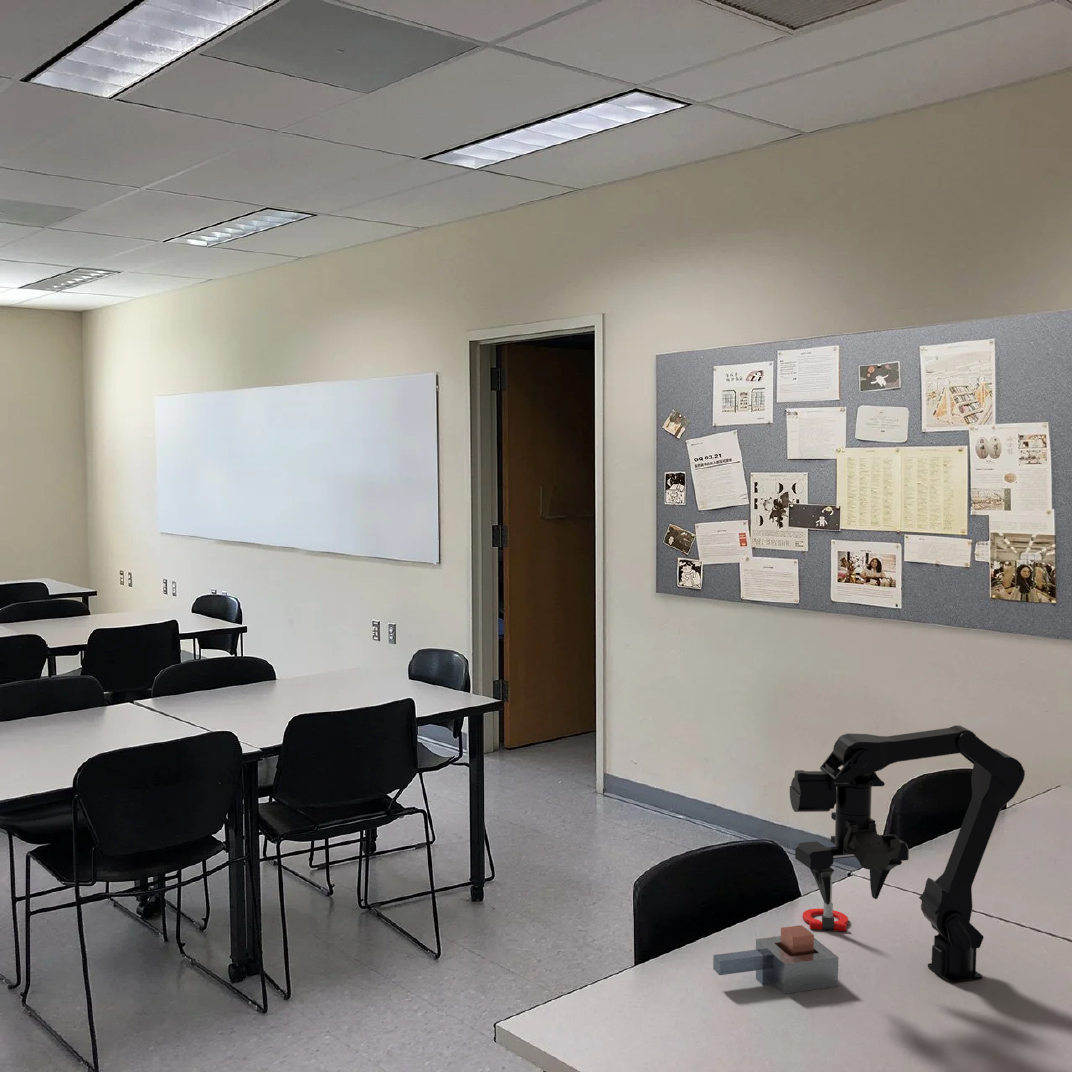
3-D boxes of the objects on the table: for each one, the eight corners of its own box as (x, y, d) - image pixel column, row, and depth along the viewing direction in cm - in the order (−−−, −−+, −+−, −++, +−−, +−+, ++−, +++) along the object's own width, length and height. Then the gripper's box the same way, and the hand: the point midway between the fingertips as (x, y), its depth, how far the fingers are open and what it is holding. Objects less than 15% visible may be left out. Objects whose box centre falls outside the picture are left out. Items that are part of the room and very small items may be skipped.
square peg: (800, 970, 190) (801, 925, 189) (812, 980, 186) (813, 934, 186) (779, 973, 189) (780, 927, 188) (791, 983, 185) (792, 937, 184)
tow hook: (800, 912, 216) (805, 930, 206) (802, 847, 215) (806, 861, 206) (845, 916, 214) (851, 933, 205) (846, 849, 214) (853, 864, 205)
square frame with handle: (807, 960, 194) (807, 932, 193) (837, 986, 184) (838, 957, 184) (703, 973, 188) (703, 945, 188) (729, 1001, 179) (729, 971, 178)
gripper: (829, 830, 176) (827, 926, 177) (930, 821, 181) (927, 913, 182) (794, 809, 187) (792, 899, 188) (890, 801, 192) (888, 888, 193)
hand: (850, 900), depth 187 cm, fingers open, 9 cm apart
